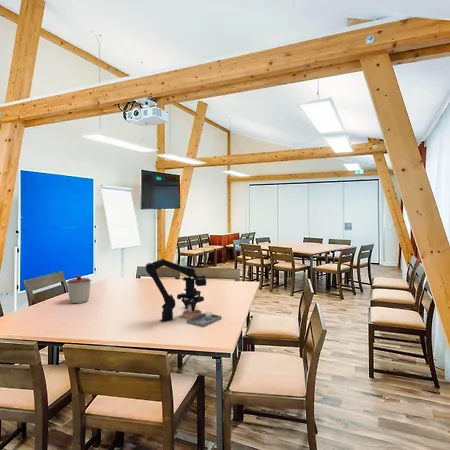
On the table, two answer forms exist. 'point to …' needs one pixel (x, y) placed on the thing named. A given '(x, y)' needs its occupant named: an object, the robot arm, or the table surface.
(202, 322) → the parts tray
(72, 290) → the canister
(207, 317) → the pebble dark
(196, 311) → the terracotta dish
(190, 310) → the pebble light
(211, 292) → the table surface
